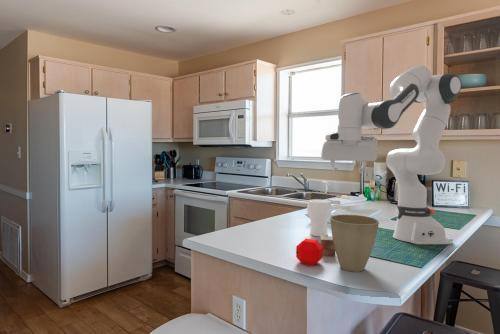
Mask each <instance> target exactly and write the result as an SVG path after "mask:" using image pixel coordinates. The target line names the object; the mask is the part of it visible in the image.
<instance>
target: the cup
mask: <svg viewBox="0 0 500 334" xmlns="http://www.w3.org/2000/svg"><path fill="white" fill-rule="evenodd" d="M306 206H307V207H306V208H307V209H306V210H307V215H308V217H309V219H310V226H311V227H310V229H309V230H310V231H309V235H310V236H312V237H313V236H314V237H320V236H329V235H328V234H329V233H328V221H329V220H330V217H331V216H332V213H333V212H332V211H333V210H332V209H333V206H332V202H331V200H327V199H318V198H317V199H316V198H314V199H310V200H308V202H307V205H306Z"/></svg>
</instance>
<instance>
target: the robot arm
mask: <svg viewBox="0 0 500 334" xmlns="http://www.w3.org/2000/svg"><path fill="white" fill-rule="evenodd" d="M461 89H462V80H461V78H460V77H459V76H458V75H457V74H455V73H444V74H443V73H442V74H434V75H432V72H431V69H429V68H428V66H425V65H416V66H413V67H411V68H409V69H407V70H406V71H404V72H402V73H401V74H399V75H398V76H396V78H394V79H393V80H392V82H391V83H390V85H389V93H390V95H391V98H392V99H388V100H383V101H377V102H369V101H367V100H366V99H365V98H364V97H363V95H362V93H361V92H353V93H346V94H343V95H342V96H341V97H340V99H339V103H338V110H337V111H338V113H337V117H338V125H337V131H335V132H331V133H329V134H326V135H325V141H324V143H323V145H322V149H321V154H320V155H321V157H320V158H321V159H322V160H323V161H327V160H328V161H330V165H331V167H332V173H338V169H339V168H338V167H336V166H335V163H336V161H347V162H348V161H349V162H350V161H353V162H361V164H362V165H361V167H358V174H363V173H364V169H365V168H366V166H367V163H368V162H375V161H376V160H377V159H378V155H377V154H378V153H377V152H378V151H377V147H378V145H379V143H378V139H377V138H376V137H375V136H364V135H363V129H364V130H366V129H368V130H369V129H388V130H389V129H392V128H394V127H395V126H396V125H397V124H398V122H399V120H400V119H401V117H402V115H403V113H404V112H405V111H407V109H408V108H410V106H412V105H413V104H414V103H418V104H421V103H425V108H424V109H423V111H422V112H421V114H420V116H419V118H418V120H417V123H416V124H415V127H414V129H413V131H412V134H411V135H412V139H413V140H414V142H416V146H415V147H411V148H410V147H406V148H405V147H403V148H402V147H401V148H396V149H393V150H390V151H389V152H388V153H387V155H386V158H385V164H386V167H387V168H388V169H389V170H390V171H391V172H392V174H393V176H394V177H395V178H394V179H395V181H396V184H397V194H398V195H397V200H398V201H397V205H396V212H395V213H396V214H395V216H396V222H395V226H394V231H393V235H392V237H393V239H396V240H398V241H402V242H407V243H411V244H414V245H452V240H451V238H450V237H447V236H446V234H447V233H446V230H445V227H444V226H443V225H442V224H441V223H440V222H438V221H437V220H436V219H435V218H433V216H431V215H434V214H435V209H433V208H429V207H428V206H427V197H428V190H427V187H426V186H425V185H424V184H422V183H421V182H420V180H419V177H418V175H421V176H429V175H437V174H438V175H439V174H440V173H441V172H442V171H443V170H444V169H445V165H446V157H445V155H444V153H443V152H442V151H441V149H440V146H439V145H440V141H441V138H442V136H443V133H444V130H445V129H446V126H447V124H448V121H449V119H450V114H451V111H452V108H451V105H450V104H451V103H453V102H454V101H455V100H456V98H457V97H458V96H459V94H460V92H461ZM362 135H363V136H362Z"/></svg>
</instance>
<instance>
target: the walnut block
mask: <svg viewBox="0 0 500 334" xmlns="http://www.w3.org/2000/svg"><path fill="white" fill-rule="evenodd" d="M319 237H320V238H319V243H320V244H321V245H322V246H323V257H331V258H332V257H333V258H334V257H336V251H335V247H334V242H333V237H332V235H331V236H329V235H327V236H319Z"/></svg>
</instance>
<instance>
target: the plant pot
mask: <svg viewBox="0 0 500 334" xmlns="http://www.w3.org/2000/svg"><path fill="white" fill-rule="evenodd" d="M329 221H330V230H331V237H333V242H334V247H335V256H336V258H337V260H338V264H339V266H340V268H341V269H342V270H344V271H348V272H352V273H353V272H357V273H359V272H363V271H364V270H365V268H366V265H367V264H368V261H369V260H370V256H371V254H372V251H373V249H374V245H375V242H376V239H377V233H378V229H379V224H380V220H378V219H376V218H374V217H371V216H366V215H360V214H335V215H330V218H329Z"/></svg>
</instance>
